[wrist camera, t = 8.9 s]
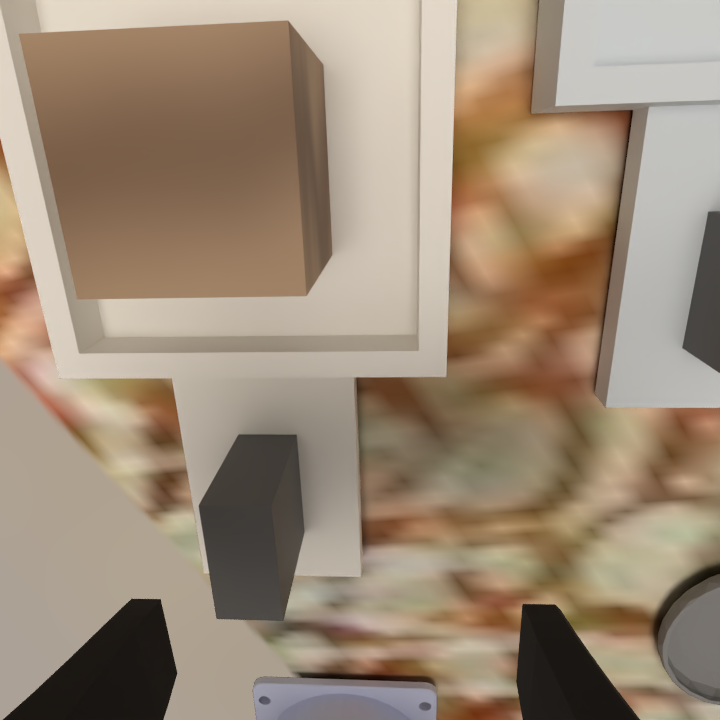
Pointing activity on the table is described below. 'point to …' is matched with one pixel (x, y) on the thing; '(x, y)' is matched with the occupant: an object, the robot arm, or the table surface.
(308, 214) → the walnut cube
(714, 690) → the pocket watch
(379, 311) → the white tray
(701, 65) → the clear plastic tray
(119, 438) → the table surface
